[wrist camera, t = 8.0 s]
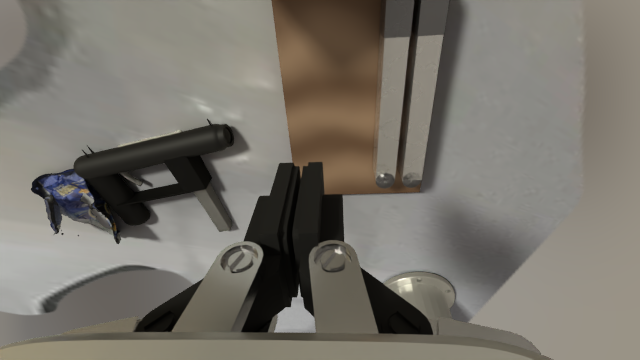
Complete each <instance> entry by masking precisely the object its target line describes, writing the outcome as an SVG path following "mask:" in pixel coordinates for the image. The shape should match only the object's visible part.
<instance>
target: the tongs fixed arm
mask: <svg viewBox="0 0 640 360" xmlns="http://www.w3.org/2000/svg"><path fill="white" fill-rule="evenodd" d="M448 7H449V0H414V8H413V18H412V27H411V37H410V39H409V49H408V58H407V68H406V77H405V87H404V97H403V107H402V118H401V129H400V140H399V151H398V161H397V167H398V170H399V173H400V176H401V179H402V182H403V185H404V186H406V187H408V188H413V187H416V186H418V185H419V184H420V183H421V180H422V174H423V167H424V161H425V154H426V147H427V141H428V134H429V127H430V121H431V114H432V107H433V101H434V94H435V88H436V81H437V74H438V68H439V61H440V54H441V48H442V41H443V35H444V33H445V27H446V20H447V13H448Z"/></svg>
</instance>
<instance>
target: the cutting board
mask: <svg viewBox="0 0 640 360" xmlns="http://www.w3.org/2000/svg"><path fill="white" fill-rule="evenodd" d="M272 7H273V15H274V22H275V30H276V38H277V45H278V53H279V61H280V68H281V76H282V84H283V92H284V99H285V107H286V115H287V122H288V130H289V138H290V145H291V153H292V161H293V163H294V165H295V166H299V167H300V174H301V176H302V170H303V166H308V162H323V175H324V191H325V194H371V193H407V192H420V186H421V183H420V184H419V185H418V186H416V187H413V188H408V187H406V186H404V185H403V182H402V179H401V176H400V173H399V170H398V167H397V164H396V174H395V182H394V184H393V185H392V186H391V187H389V188H385V189H383V188H380V187H378V186H377V184H376V181H375V176H374V171H373V152H374V134H375V115H376V96H377V78H378V59H379V40H380V32H379V28H380V9H381V0H272ZM402 107H403V106H402ZM401 118H402V116H401ZM400 129H401V125H400ZM399 140H400V135H399ZM398 151H399V145H398ZM397 161H398V154H397Z"/></svg>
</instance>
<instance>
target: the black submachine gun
mask: <svg viewBox="0 0 640 360" xmlns="http://www.w3.org/2000/svg"><path fill="white" fill-rule="evenodd" d="M207 120H208V119H207ZM209 121H210V120H208V122H209ZM209 124H210V125H209V126H205V127H200V128H196V129H192V130H188V131H184V132H182V131H181V130H180V131H179V130H176V132H172V133H168V134H164V135H159V136H155V137H151V138H147V139H143V140H139V141H134V142H130V143H126V144H122V145H119V146H118V147H117V148H113V149H108V150H104V151H100V152H96V153H94V152H93V151H92V150H91V149H90V148H89V147H88V148H89V149H90V151H91V152H92V154H88V155H87V154H86V153H85V152H84V151H83V150H82V151H83V152H84V153H85V155H83V156H81V157H79V158H78V159H77V160H76V161H75V163H74V171H75V173H76V174H77V175H78V176H80V177H81V178H84V179H86V180H87V181H88V182H89V183H90V184H91V185H92V186H93V188H94V189H95V190H96V191H97V192H98V193H99V194H100V195H101V196H102V198H103V199H104V200H105V201H106V202H107V203H108V204H109V205H110V206H111V207H112V209H113V210H114V211H115V212H116V213H117V214H118V215H119V216H120V217H121V218H122V220H123V221H124V222H125V223H127V224H129V225H140V224H143V223H145V222H146V221H147V220H148V219H149V218H150V213H149V211H148V210H147V209H146V207H145V206H144V205H143V204H142V202H145V201H150V200H155V199H160V198H165V197H170V196H175V195H180V194H185V193H190V192H194V194H195V195H196V197H197V198H198V200H199V201H200V203H201V204H202V206H203V207H204V209H205V210H206V212H207V214H208V215H209V217H210V218H211V220H212V221H213V223H214V224H215V226H216V227H217V229H218V230H219V232H221V231H227V230H231V227H232V222H231V220H230V218H229V216H228V215H227V213H226V211H225V209H224V207H223V205H222V204H221V202H220V200H219V198H218V196H217V195H216V193H215V191H214V189H213V187H212V185H211V184H210V181H211V179H212V177H211V175H210V173H209V171H208V170H207V168H206V166H205V164H204V162H203V160H202V158H201V157H200V155H203V154H208V153H212V152H217V151H221V150H224V149H225V148H227V147H231V146H233V144H234V137H233V133H232V130H231V128H230V127H229V126H228V125H227V124H223V125H219V124H213V125H212V124H211V122H209ZM163 163H165V164H166V165H167V167H168V168H169V170H170V171H171V173H172V174H173V176H174V177H175V179H176V180H177V182H178V184H173V185H168V186H163V187H158V188H153V189H149V190H144V191H139V192H134V193H133V191H132V190H131V189H130V188H129V187H128V185H127V184H126V183H125V182H124V180H123V179H122V178H121V177H120V175H119V174H118V173H120V174H121V175H122V176H124V177H125V178H126V179H128V180H129V181H131V182H133V183H135V184H137V185H139V186H141V185H142V184H143V181H141V180H139V179H137V178H135V177H133V176H132V175H130V174H129V173H127V171H131V170H136V169H140V168H145V167H149V166H154V165H158V164H163Z"/></svg>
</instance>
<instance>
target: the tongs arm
mask: <svg viewBox="0 0 640 360" xmlns="http://www.w3.org/2000/svg"><path fill="white" fill-rule="evenodd" d="M413 8H414V0H381V9H380V28H379V32H380V40H379V59H378V78H377V96H376V115H375V134H374V152H373V171H374V176H375V181H376V184H377V186H378V187H380V188H383V189H385V188H389V187H391V186H392V185H393V184H394V182H395V174H396V164H397V154H398V145H399V135H400V125H401V116H402V106H403V97H404V87H405V77H406V68H407V58H408V49H409V39H410V37H411V27H412V18H413Z"/></svg>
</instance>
